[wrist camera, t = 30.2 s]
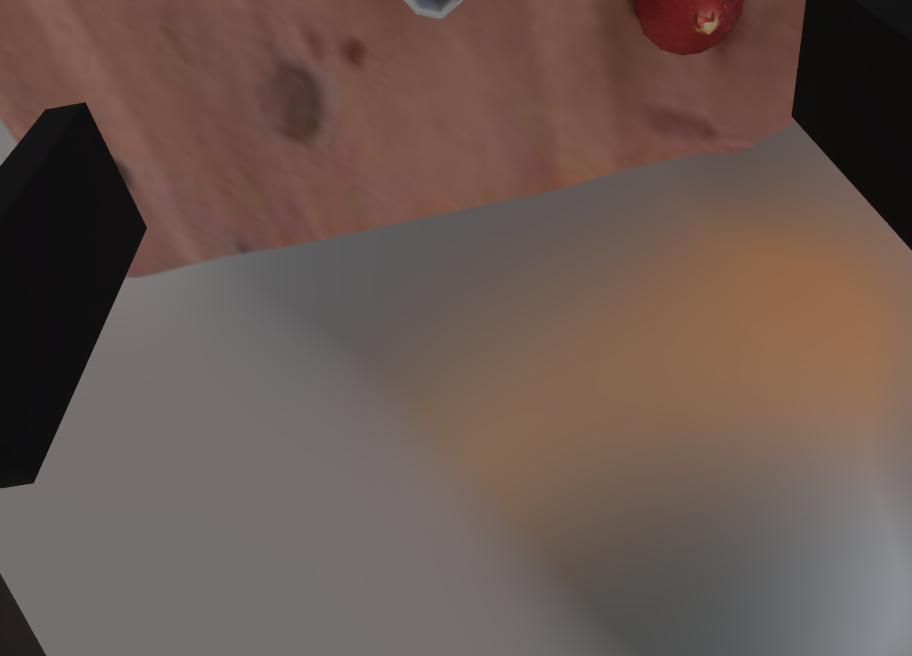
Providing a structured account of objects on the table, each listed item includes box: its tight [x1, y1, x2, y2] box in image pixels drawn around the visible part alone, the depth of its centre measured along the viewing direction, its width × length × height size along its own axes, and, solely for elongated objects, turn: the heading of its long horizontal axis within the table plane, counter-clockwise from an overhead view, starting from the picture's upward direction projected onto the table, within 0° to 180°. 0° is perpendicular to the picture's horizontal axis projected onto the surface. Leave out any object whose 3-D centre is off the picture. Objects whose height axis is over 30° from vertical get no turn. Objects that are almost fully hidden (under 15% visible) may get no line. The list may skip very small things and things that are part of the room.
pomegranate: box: [635, 0, 743, 55], centre depth 44 cm, size 6×6×8 cm
